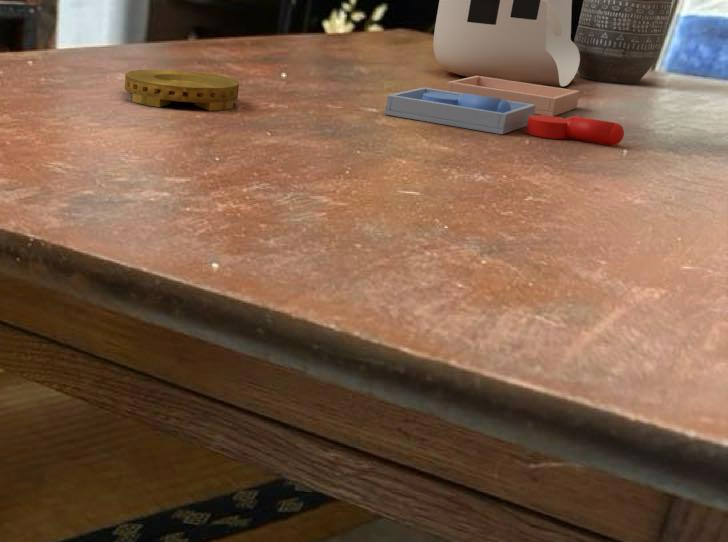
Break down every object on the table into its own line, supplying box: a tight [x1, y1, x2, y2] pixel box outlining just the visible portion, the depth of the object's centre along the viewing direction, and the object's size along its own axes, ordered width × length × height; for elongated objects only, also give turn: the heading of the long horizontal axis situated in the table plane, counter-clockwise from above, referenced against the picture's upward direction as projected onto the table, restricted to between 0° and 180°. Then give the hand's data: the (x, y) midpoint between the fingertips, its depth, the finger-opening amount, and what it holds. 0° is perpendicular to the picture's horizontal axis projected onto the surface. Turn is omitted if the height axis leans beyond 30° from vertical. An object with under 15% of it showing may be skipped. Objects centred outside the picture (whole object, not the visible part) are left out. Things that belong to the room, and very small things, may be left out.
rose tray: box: [445, 76, 581, 117], centre depth 133 cm, size 13×10×2 cm
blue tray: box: [384, 87, 536, 135], centre depth 120 cm, size 13×10×2 cm
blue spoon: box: [422, 93, 511, 113], centre depth 119 cm, size 10×4×2 cm, turn 58°
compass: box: [124, 69, 240, 111], centre depth 117 cm, size 12×12×2 cm
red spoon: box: [525, 114, 625, 146], centre depth 114 cm, size 10×4×2 cm, turn 58°
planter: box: [573, 0, 674, 85], centre depth 162 cm, size 12×12×13 cm
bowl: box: [432, 0, 580, 87], centre depth 153 cm, size 20×19×12 cm
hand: (503, 21), depth 114 cm, fingers open, 13 cm apart
